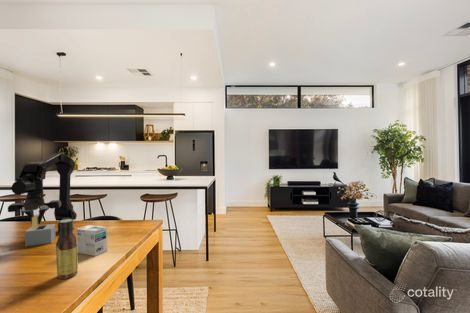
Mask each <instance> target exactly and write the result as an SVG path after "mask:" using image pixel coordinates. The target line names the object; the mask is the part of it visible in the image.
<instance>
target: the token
mask: <svg viewBox="0 0 470 313" xmlns="http://www.w3.org/2000/svg"><path fill="white" fill-rule="evenodd" d="M40 225H42V222H41V223H40V224H39V214H34V216H33V217H32V223H31V226H32V229H33V228H38V227H39V226H40Z"/></svg>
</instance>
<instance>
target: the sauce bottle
mask: <svg viewBox="0 0 470 313" xmlns="http://www.w3.org/2000/svg"><path fill="white" fill-rule="evenodd" d="M58 223H59V226H60V233H59V235H58V238H57V241H56V243H55V251H56V253H55V254H56V260H55V261H56V274H57V278H58V279H62V280H63V279H64V280H65V279H70V278H72V277H75V276H76V275H77V274H78V268H79V266H78V265H79V263H78V260H79V259H78V253H77V235H75V233H74V232H73V231H74V229H73V230H72V224H73V225H74V220H72V219H65V220H61V221H59V220H58Z"/></svg>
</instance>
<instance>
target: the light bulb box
mask: <svg viewBox="0 0 470 313" xmlns="http://www.w3.org/2000/svg"><path fill="white" fill-rule="evenodd" d="M76 239H77V254H80V255H81V254H83V255H87V256H93V257H96V256H99V255H101V254H104V253H106V252H107V251H108V227H107V226H101V225H91V224H87V225H85V226H82V227H78V228H76Z"/></svg>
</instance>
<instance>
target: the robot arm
mask: <svg viewBox="0 0 470 313" xmlns="http://www.w3.org/2000/svg"><path fill="white" fill-rule="evenodd" d="M53 165H54V166H55V168H56V171H57V173H58V174H59V188H58V189H59V195H58V197H59V198H58V199H56V200H50V201H49V202H45V198H44V180H45V179H46V177H45V176H44V174H46V173H47V172H48V168H50V167H53ZM75 166H76V161H75V160H74V159H73V158H71V157H70V156H68V155H67V156H66V155H65V154H64V153H61V152H53V153H51V154H50V155H48V156H46V157H45V158H42V159H40V160H38V161H32V162H27V163H25V164H24V165H23V167H22V169H21V172H20V174H19V176H18V178H16V179H15V181H14V182H13V183H12V185H11V187H10V188H11V189H10V190H11V191H12V193H13V194H15V195H19V196H20V195H23V194H26V198H25V200H24V202H15V203H12V204H9V205H8V206H7V213H15V212H18V210H21V213H22V214H25V215H26V216H27V217H28V219H29V221H30V222H31V224H32V217H33V216H34V215H35V214H34V211H36V210H38V209H39V208H40V209H39V210H38V215H39V224H40V223H41V224H42V220H43V217H44V215H45V213H46V211H48V210H49V209H52V210H53V209H54V212H53V215H54V220H55V221H56V222H57V221H58V223H57V231H58V232H57V233H59V234H60V226H59V221H61V220H65V219H72V220H73V221H75V220H77V216H78V215H77V214H78V213H76V211H75V210H74V205H73V204H72V202H71V200H70V199H71V175H72V173H73V172H74V171H75ZM74 229H75V227H74V223H73V224H72V230H73V231H74Z"/></svg>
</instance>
